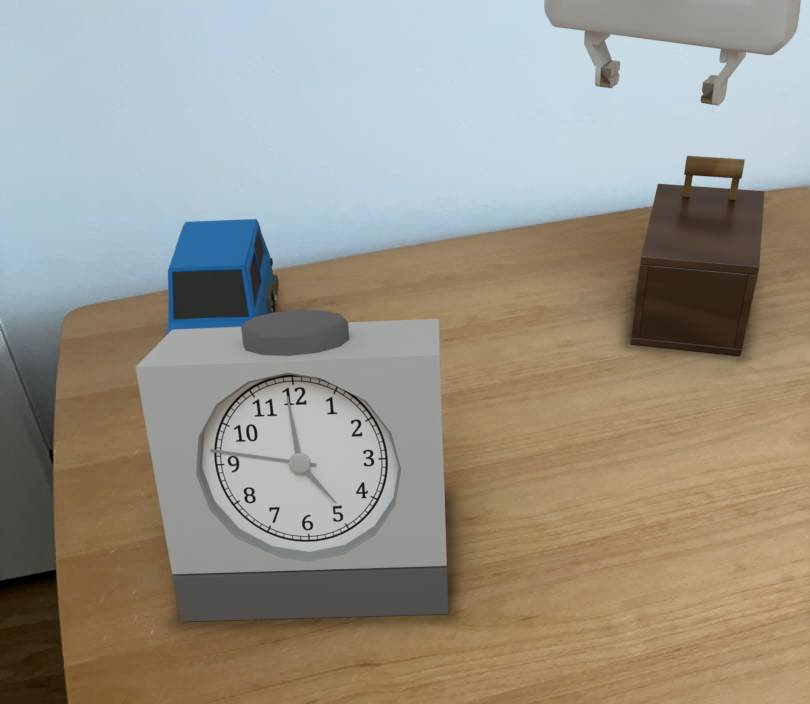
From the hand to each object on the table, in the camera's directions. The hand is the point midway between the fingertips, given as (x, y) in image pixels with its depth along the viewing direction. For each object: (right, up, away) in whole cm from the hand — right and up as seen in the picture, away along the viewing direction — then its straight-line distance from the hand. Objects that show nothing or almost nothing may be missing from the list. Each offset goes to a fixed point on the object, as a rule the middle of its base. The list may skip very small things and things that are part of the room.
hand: (658, 93), depth 84 cm
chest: (+8, -14, +20) cm, 25 cm away
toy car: (-40, -18, +19) cm, 48 cm away
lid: (+8, -7, +14) cm, 17 cm away
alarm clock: (-28, -38, -2) cm, 47 cm away
